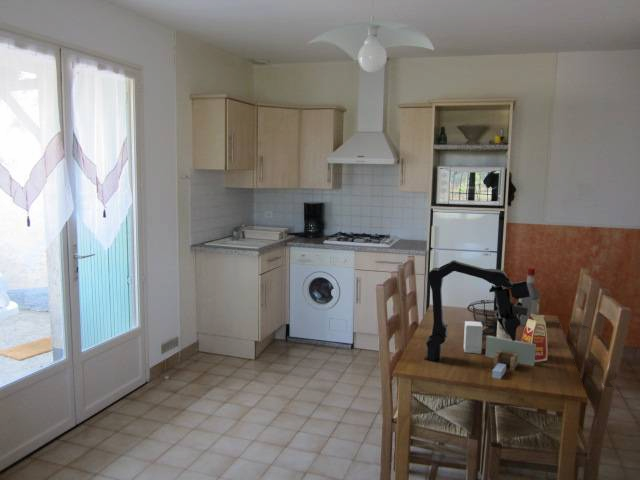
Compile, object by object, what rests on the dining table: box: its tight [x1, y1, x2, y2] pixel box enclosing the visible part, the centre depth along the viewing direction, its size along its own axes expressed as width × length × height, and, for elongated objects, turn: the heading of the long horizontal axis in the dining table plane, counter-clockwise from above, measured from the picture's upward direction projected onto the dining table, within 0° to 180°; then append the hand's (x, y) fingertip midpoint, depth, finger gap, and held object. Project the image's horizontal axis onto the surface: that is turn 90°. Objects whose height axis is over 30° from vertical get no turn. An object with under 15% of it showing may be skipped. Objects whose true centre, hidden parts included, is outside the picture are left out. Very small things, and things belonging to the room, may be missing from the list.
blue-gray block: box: [491, 363, 507, 380], centre depth 209 cm, size 9×3×3 cm, turn 147°
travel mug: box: [496, 314, 517, 340], centre depth 245 cm, size 8×8×18 cm
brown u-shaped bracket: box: [492, 350, 518, 372], centre depth 218 cm, size 7×8×5 cm
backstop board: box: [485, 335, 536, 367], centre depth 224 cm, size 2×20×9 cm, turn 58°
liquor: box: [518, 267, 541, 327], centre depth 274 cm, size 9×9×30 cm
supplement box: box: [463, 320, 484, 354], centre depth 235 cm, size 7×7×13 cm
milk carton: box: [521, 314, 548, 363], centre depth 226 cm, size 9×9×20 cm
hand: (511, 337), depth 213 cm, fingers open, 9 cm apart
